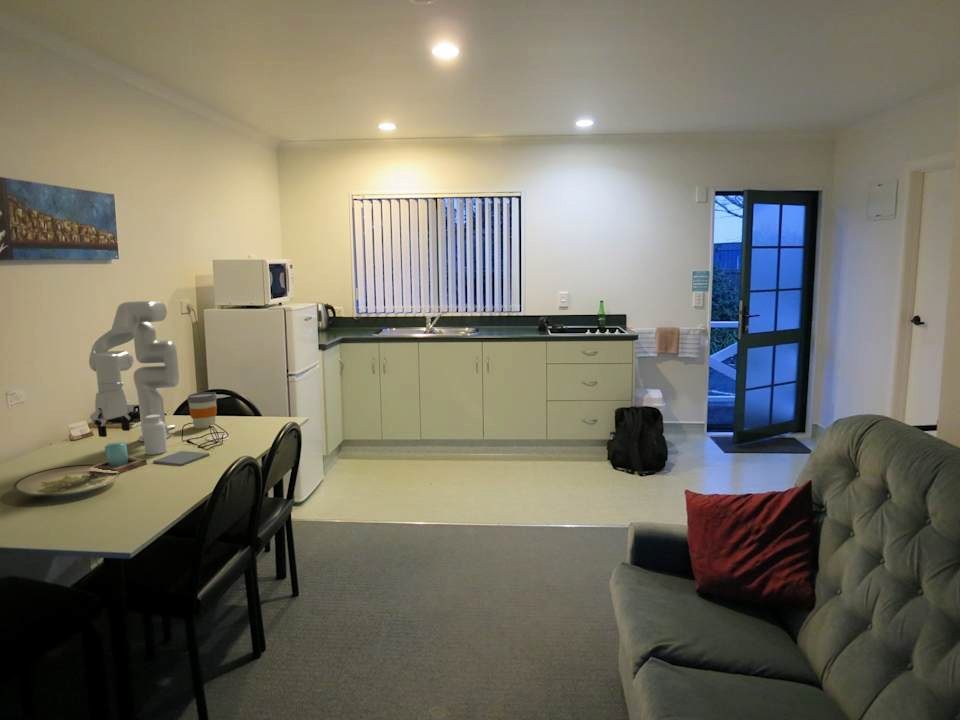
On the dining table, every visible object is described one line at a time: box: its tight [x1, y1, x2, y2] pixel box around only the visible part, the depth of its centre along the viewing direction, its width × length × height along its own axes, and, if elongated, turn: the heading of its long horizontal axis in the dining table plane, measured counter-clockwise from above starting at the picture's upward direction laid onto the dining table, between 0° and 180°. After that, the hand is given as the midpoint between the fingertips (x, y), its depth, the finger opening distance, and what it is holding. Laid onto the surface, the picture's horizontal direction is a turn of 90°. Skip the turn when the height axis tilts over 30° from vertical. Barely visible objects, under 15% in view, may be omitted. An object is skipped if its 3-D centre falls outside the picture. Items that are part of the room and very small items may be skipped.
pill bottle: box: [143, 415, 168, 456], centre depth 258 cm, size 8×8×15 cm
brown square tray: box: [93, 456, 148, 474], centre depth 239 cm, size 13×13×2 cm
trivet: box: [152, 450, 210, 467], centre depth 248 cm, size 14×14×1 cm
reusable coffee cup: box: [187, 391, 218, 429], centre depth 301 cm, size 13×13×15 cm
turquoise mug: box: [104, 441, 129, 467], centre depth 239 cm, size 8×6×9 cm
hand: (114, 433), depth 237 cm, fingers open, 9 cm apart
